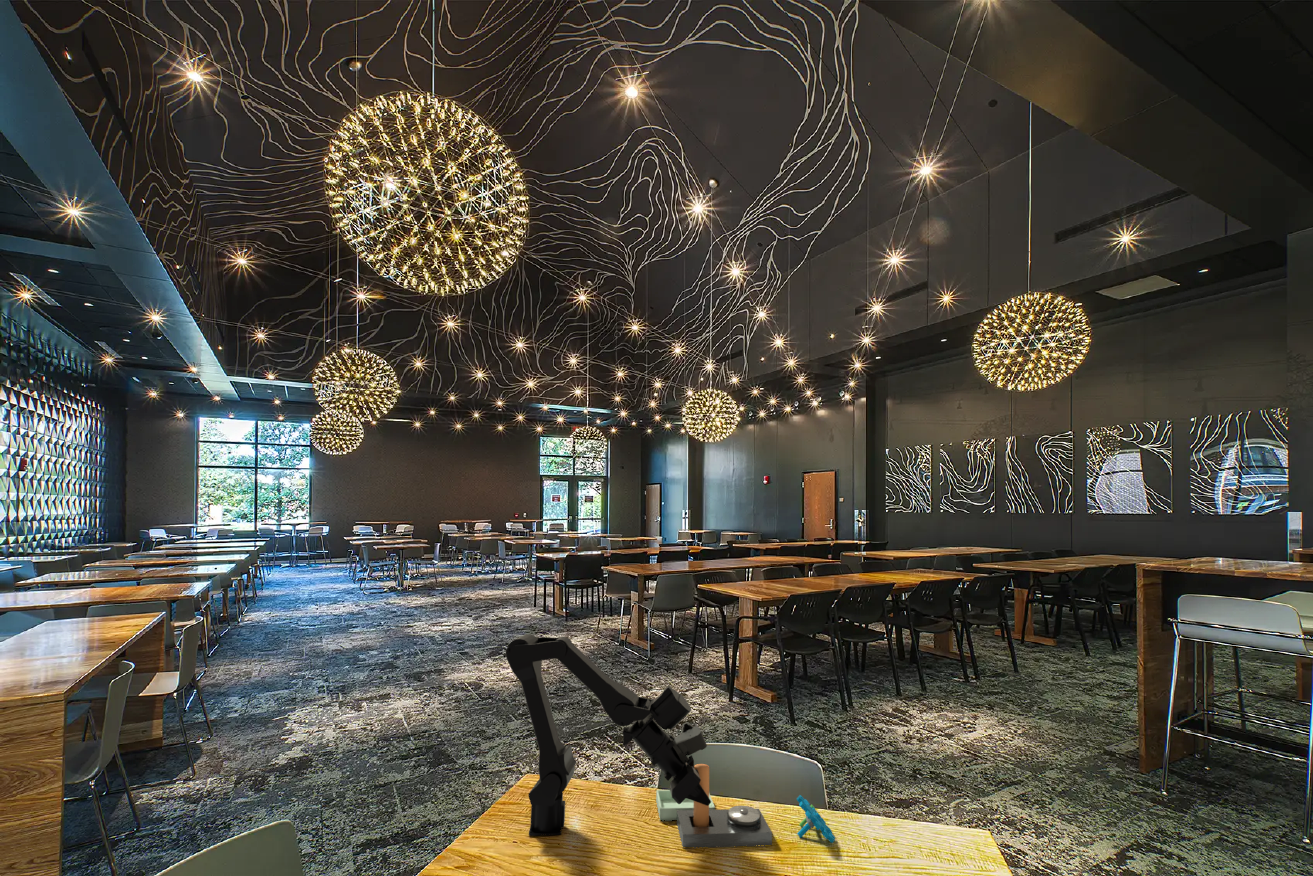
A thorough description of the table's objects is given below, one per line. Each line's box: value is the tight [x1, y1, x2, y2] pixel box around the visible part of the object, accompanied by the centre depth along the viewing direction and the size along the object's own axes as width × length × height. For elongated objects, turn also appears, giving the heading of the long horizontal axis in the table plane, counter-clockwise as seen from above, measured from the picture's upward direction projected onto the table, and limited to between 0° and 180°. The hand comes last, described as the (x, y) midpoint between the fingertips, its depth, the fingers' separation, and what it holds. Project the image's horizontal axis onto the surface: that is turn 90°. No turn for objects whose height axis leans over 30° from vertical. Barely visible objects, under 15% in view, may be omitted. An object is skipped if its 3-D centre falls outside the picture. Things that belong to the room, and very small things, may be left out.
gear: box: [796, 794, 836, 844], centre depth 123 cm, size 11×6×10 cm
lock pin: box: [693, 763, 710, 827], centre depth 124 cm, size 3×3×13 cm
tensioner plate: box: [676, 805, 773, 849], centre depth 123 cm, size 18×10×5 cm, turn 95°
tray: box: [655, 789, 716, 822], centre depth 133 cm, size 12×9×2 cm
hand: (708, 799), depth 124 cm, fingers closed on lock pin, 3 cm apart
